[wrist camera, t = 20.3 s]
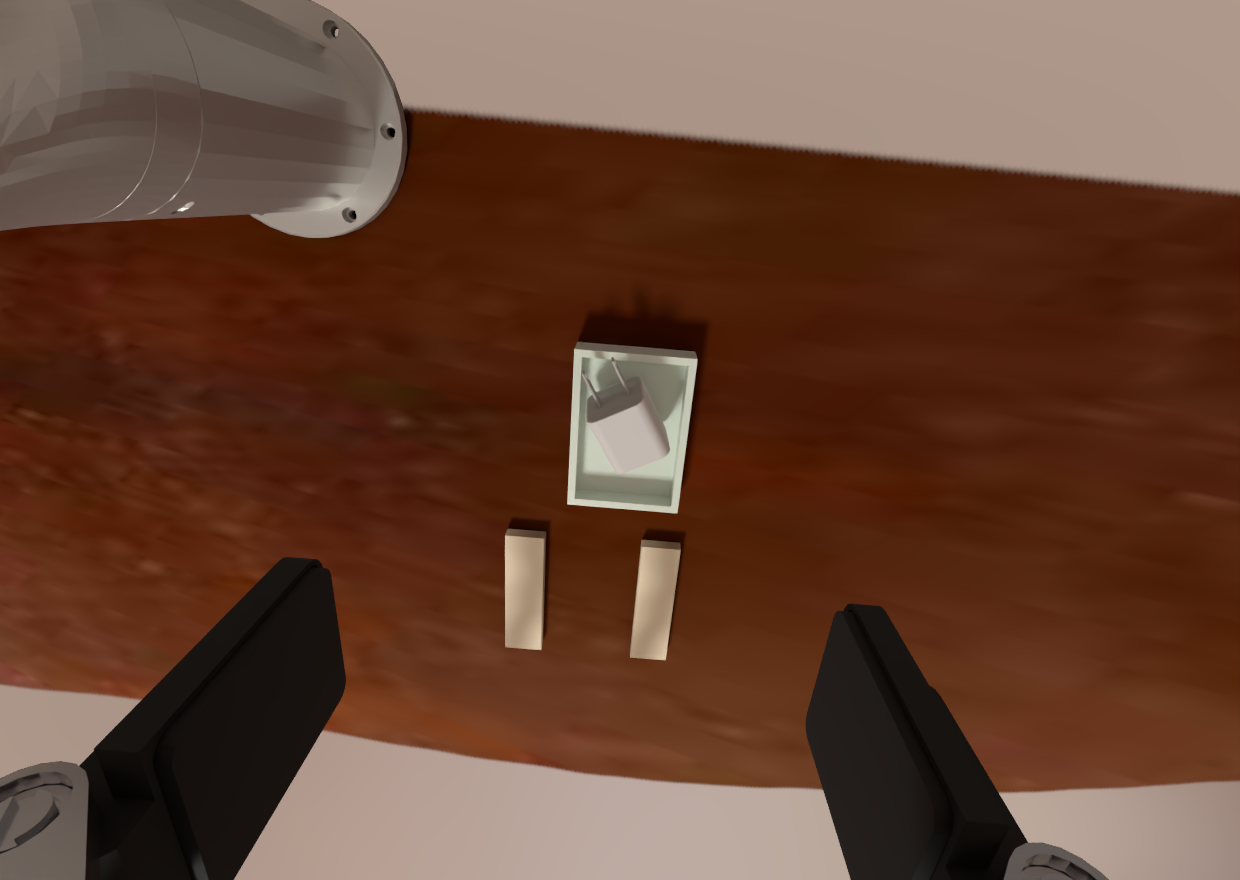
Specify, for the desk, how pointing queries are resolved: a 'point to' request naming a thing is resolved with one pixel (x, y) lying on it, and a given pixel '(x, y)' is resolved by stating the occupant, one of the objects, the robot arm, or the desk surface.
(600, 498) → the tray
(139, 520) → the desk surface
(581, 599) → the desk surface
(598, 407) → the usb wall charger
